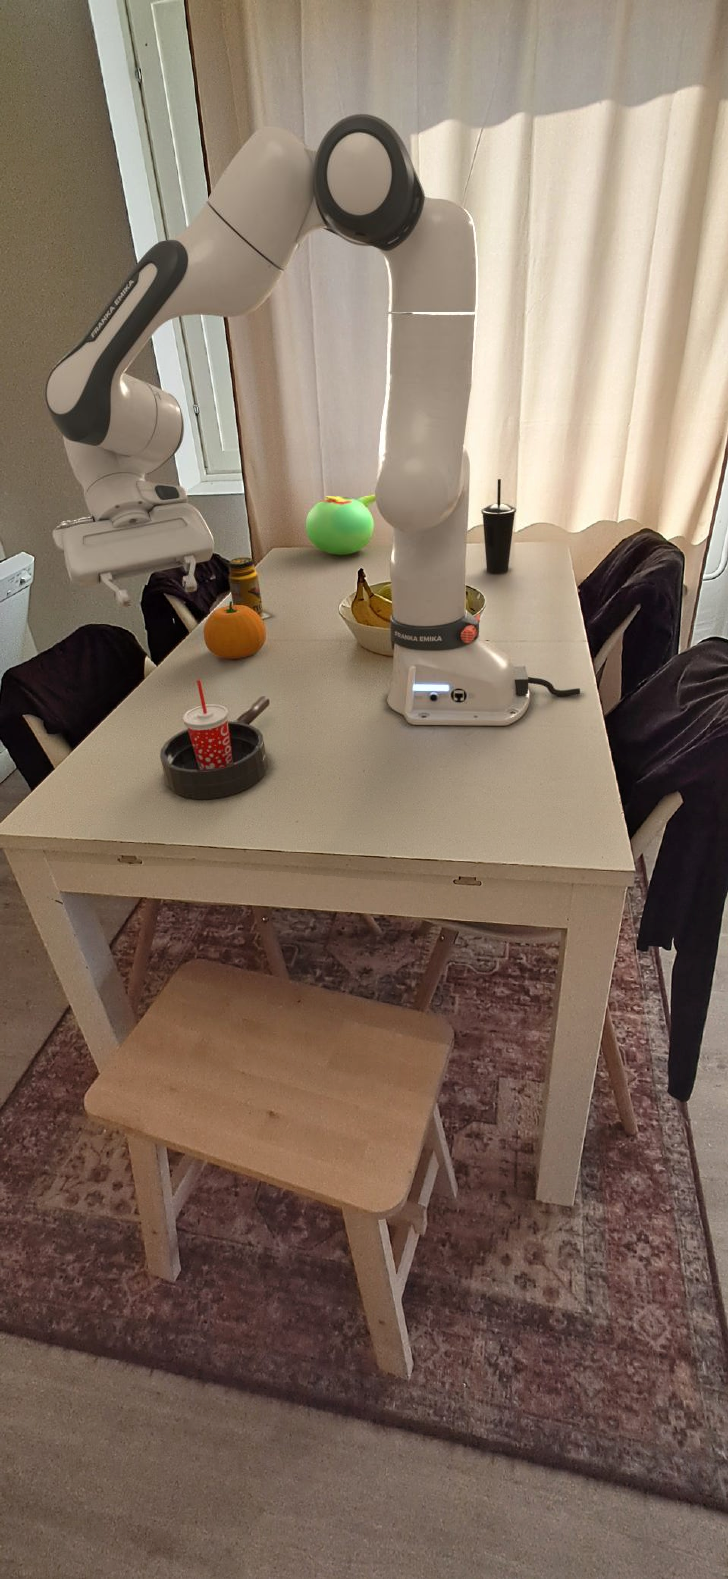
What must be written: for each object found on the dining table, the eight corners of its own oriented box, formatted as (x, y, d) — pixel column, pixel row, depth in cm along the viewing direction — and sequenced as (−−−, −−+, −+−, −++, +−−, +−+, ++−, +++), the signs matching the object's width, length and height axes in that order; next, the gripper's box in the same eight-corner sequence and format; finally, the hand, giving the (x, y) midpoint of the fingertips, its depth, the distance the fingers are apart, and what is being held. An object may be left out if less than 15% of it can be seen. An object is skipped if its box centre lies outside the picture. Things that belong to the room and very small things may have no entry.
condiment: (270, 616, 162) (262, 560, 156) (234, 626, 159) (224, 569, 152) (255, 608, 168) (247, 553, 161) (220, 618, 164) (210, 562, 158)
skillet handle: (242, 735, 112) (240, 724, 111) (231, 734, 112) (229, 723, 111) (272, 705, 119) (270, 694, 118) (262, 704, 120) (260, 693, 119)
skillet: (284, 754, 111) (280, 726, 109) (237, 806, 100) (232, 777, 98) (200, 743, 116) (194, 717, 114) (147, 792, 105) (139, 764, 103)
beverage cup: (218, 786, 104) (199, 693, 97) (186, 776, 108) (165, 685, 100) (247, 765, 109) (231, 675, 101) (215, 756, 112) (197, 667, 104)
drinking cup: (516, 574, 174) (519, 481, 163) (482, 576, 174) (483, 484, 164) (511, 564, 180) (514, 474, 170) (479, 567, 181) (479, 477, 170)
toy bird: (296, 556, 200) (289, 498, 192) (339, 540, 211) (334, 484, 203) (348, 565, 190) (342, 504, 182) (390, 548, 200) (387, 489, 192)
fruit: (233, 637, 153) (225, 588, 148) (280, 645, 148) (273, 594, 142) (194, 659, 145) (184, 608, 140) (242, 668, 140) (233, 615, 134)
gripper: (45, 510, 100) (81, 602, 98) (194, 485, 108) (231, 569, 106) (49, 538, 106) (83, 625, 104) (190, 512, 114) (224, 593, 112)
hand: (159, 597), depth 105 cm, fingers open, 8 cm apart
